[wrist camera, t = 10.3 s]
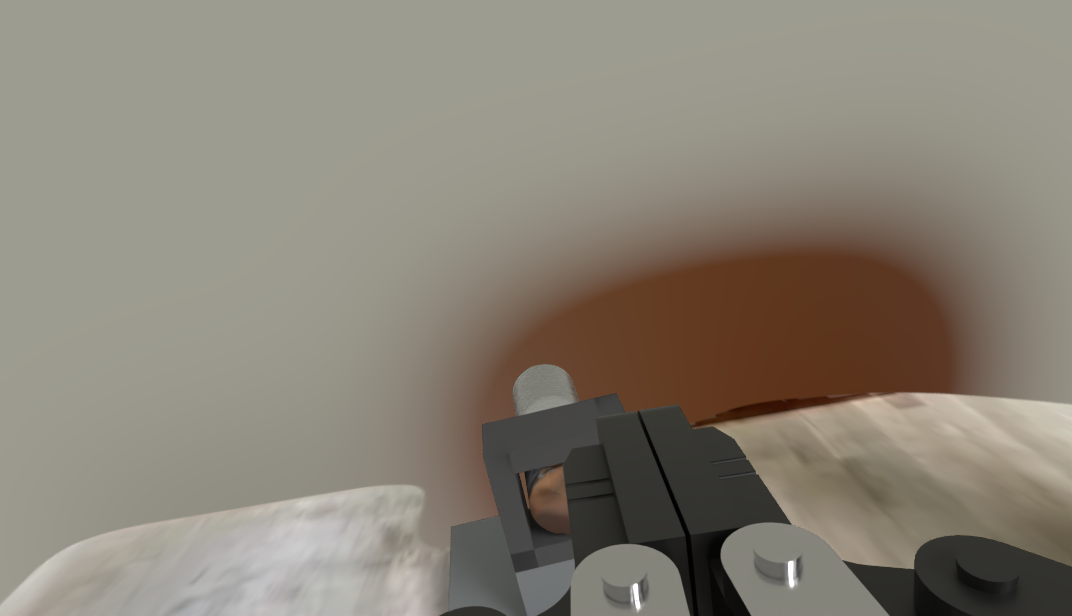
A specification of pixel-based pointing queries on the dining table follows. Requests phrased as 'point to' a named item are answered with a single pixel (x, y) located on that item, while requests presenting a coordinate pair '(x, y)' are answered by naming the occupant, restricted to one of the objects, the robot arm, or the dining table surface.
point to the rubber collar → (531, 448)
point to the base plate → (500, 573)
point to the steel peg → (547, 483)
